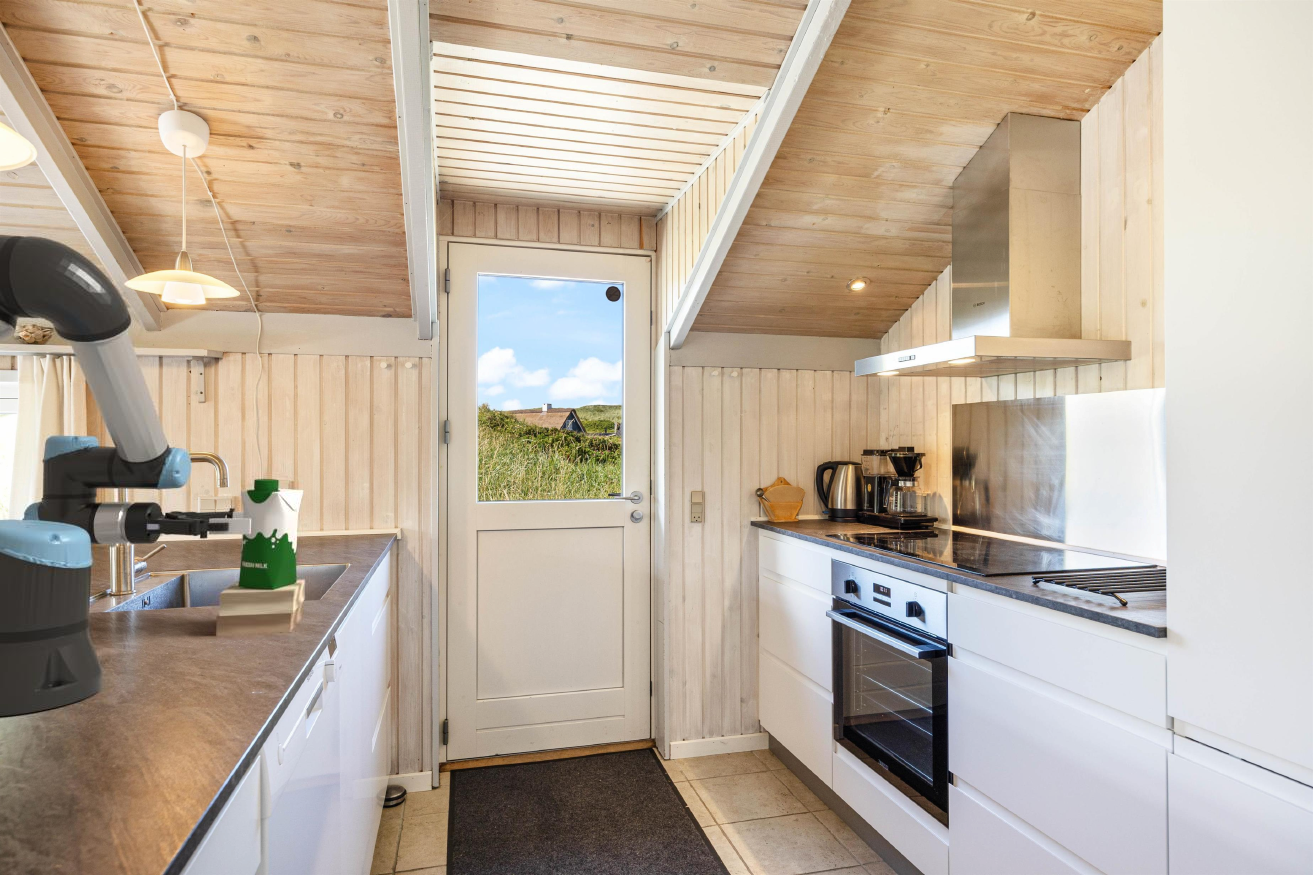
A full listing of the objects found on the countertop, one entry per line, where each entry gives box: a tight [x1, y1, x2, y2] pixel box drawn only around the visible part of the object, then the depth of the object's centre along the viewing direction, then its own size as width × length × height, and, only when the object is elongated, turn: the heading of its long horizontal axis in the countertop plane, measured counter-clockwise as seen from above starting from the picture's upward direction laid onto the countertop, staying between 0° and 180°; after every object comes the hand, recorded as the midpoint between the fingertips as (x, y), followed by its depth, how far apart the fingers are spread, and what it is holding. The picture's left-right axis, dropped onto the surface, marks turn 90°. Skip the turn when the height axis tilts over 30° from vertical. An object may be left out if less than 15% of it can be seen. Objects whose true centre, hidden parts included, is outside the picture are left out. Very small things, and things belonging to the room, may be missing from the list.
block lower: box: [215, 601, 304, 637], centre depth 137 cm, size 12×12×4 cm
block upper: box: [218, 578, 306, 616], centre depth 137 cm, size 12×12×4 cm
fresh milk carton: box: [238, 478, 304, 590], centre depth 137 cm, size 9×9×20 cm
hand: (260, 522), depth 137 cm, fingers open, 13 cm apart
